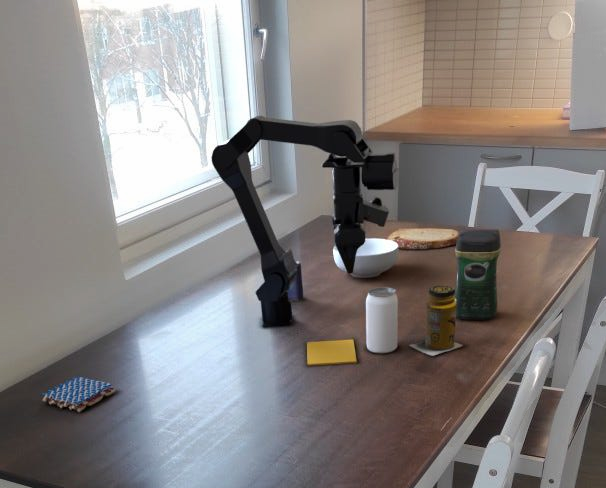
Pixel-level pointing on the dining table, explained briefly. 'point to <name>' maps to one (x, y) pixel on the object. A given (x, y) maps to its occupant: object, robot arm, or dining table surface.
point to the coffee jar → (477, 273)
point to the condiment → (439, 321)
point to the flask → (296, 286)
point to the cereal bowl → (371, 258)
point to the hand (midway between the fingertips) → (349, 266)
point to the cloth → (331, 352)
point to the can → (382, 320)
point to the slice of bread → (424, 238)
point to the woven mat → (78, 393)
